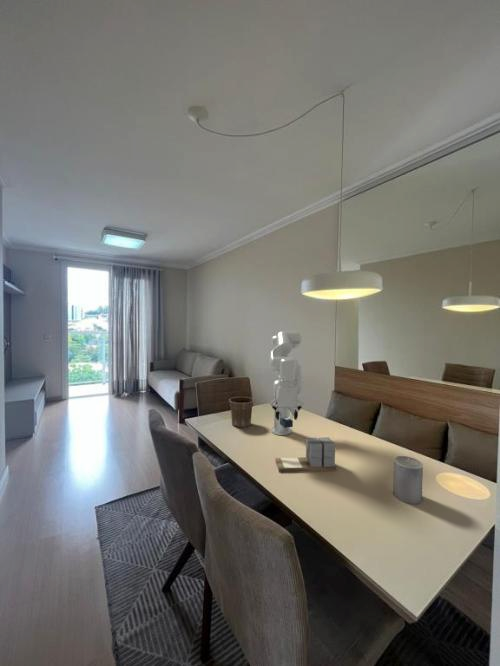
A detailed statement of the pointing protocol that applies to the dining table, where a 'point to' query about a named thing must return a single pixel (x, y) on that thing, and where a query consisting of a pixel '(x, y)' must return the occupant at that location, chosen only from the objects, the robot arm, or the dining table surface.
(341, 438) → the dining table surface
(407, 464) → the pillar candle
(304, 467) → the wood and grey tray
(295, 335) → the robot arm
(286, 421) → the watch
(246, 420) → the plant pot
